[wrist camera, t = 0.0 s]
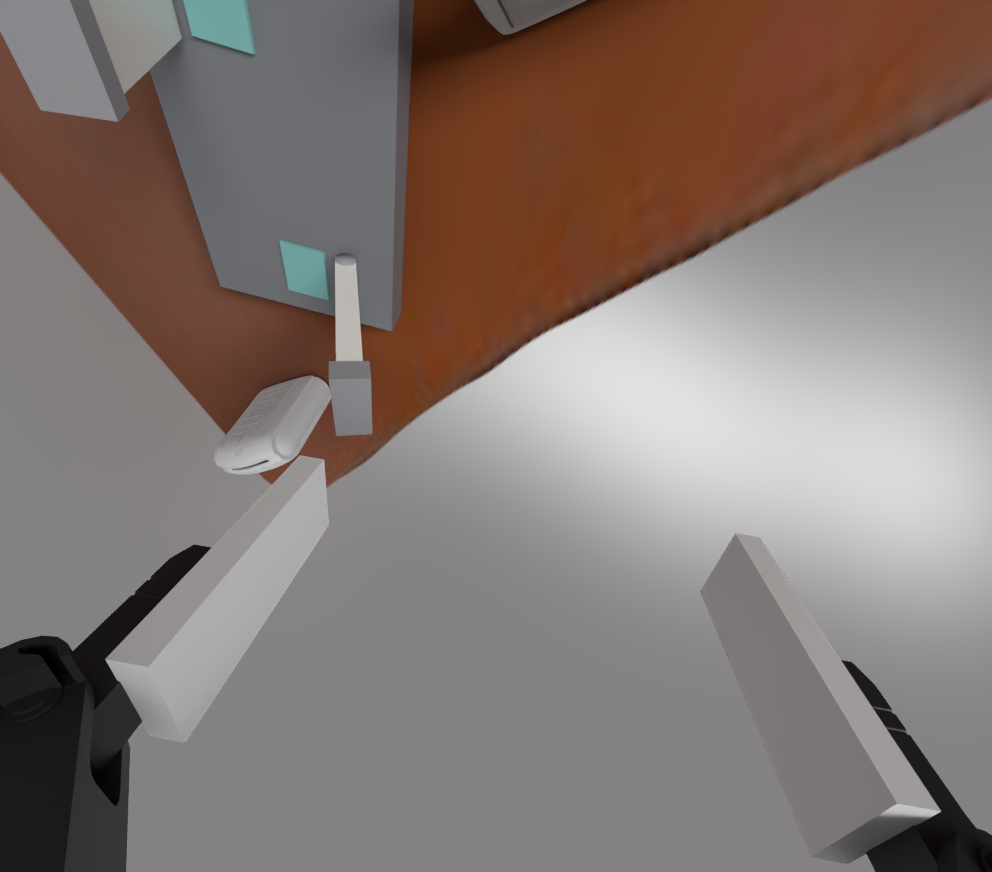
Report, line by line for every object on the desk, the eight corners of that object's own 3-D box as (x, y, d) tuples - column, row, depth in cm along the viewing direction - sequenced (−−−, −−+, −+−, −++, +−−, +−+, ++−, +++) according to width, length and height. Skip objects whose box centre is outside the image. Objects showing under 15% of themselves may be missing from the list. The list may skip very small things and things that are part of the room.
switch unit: (416, -54, 23) (399, -57, 20) (400, 314, 41) (390, 333, 38) (118, -153, 21) (66, -168, 19) (238, 271, 39) (218, 288, 37)
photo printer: (281, 411, 55) (228, 487, 46) (256, 388, 52) (196, 464, 44) (339, 395, 51) (293, 474, 43) (316, 369, 48) (262, 449, 40)
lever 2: (360, 254, 34) (370, 378, 25) (362, 310, 38) (372, 434, 29) (329, 251, 33) (328, 379, 24) (335, 309, 37) (336, 436, 28)
